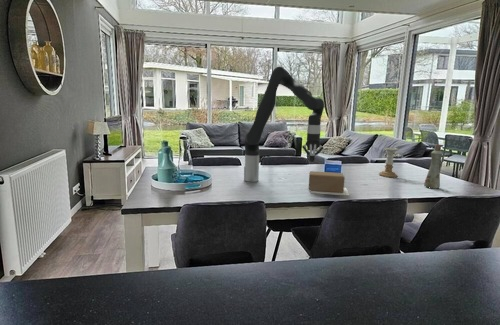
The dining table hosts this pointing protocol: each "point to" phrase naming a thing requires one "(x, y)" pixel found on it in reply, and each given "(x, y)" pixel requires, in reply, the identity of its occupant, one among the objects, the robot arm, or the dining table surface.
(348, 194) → the mat
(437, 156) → the bottle
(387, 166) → the candle holder
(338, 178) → the block
